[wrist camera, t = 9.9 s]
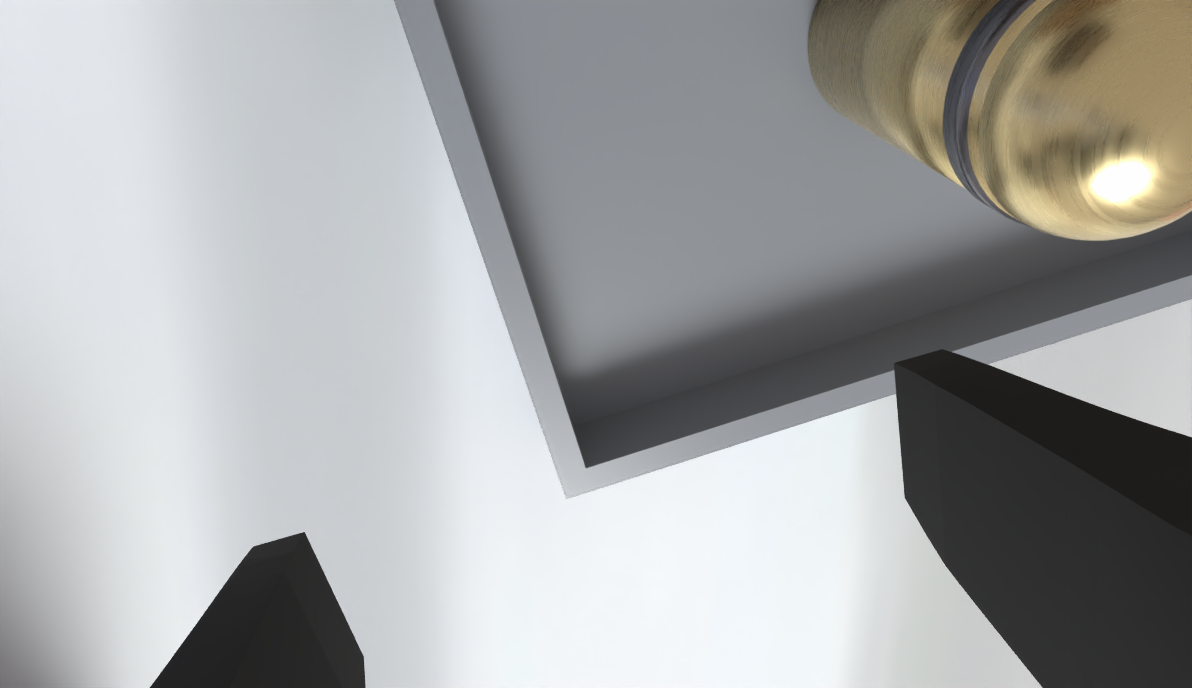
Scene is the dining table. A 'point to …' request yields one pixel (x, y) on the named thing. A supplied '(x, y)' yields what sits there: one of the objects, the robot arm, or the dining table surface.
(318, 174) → the dining table surface
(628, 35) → the tray
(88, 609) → the dining table surface
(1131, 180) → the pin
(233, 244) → the dining table surface
